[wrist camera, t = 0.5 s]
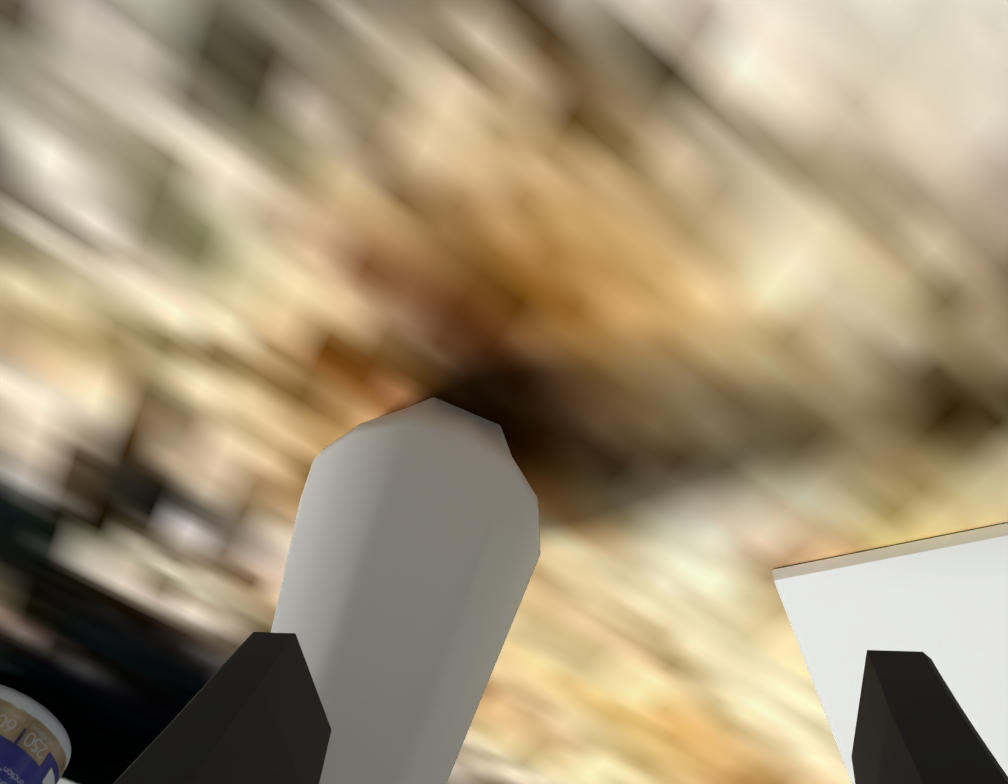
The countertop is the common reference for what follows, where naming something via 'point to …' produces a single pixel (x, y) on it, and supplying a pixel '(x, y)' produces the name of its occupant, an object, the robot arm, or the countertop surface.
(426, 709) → the salt shaker
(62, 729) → the pill bottle
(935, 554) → the pad
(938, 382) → the countertop surface
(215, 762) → the robot arm
